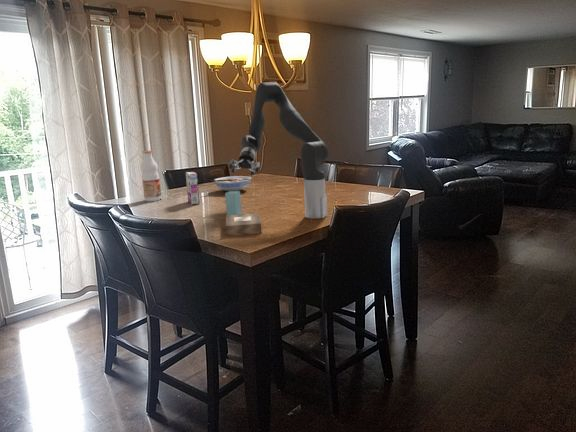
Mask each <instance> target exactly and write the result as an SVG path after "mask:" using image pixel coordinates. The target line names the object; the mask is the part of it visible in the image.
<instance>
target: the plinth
mask: <svg viewBox="0 0 576 432" xmlns="http://www.w3.org/2000/svg"><path fill="white" fill-rule="evenodd" d="M225 234H226V235H225V236H227V237H231V236H240V235H253V234H262V223H261V218H260V216H259V213H258V212H257V213H255V212H254V213H242V214H240V215H227V214H226V215H225Z"/></svg>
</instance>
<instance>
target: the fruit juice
mask: <svg viewBox="0 0 576 432" xmlns="http://www.w3.org/2000/svg"><path fill="white" fill-rule="evenodd" d="M142 154H143V161H142V162H141V165H140V169H141V172H142V173H141V174H142V175H141V181H142V188H143V195H144V196H143V197H144V201H145V202H158V201H160V199H161V200H162V198H163V197H162V189H161V181H160V180H161V179H160V174H159V172H158V169H159V166H158V164H157V161H155V159H154V157H153V150H144V151H142ZM157 200H158V201H157Z"/></svg>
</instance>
